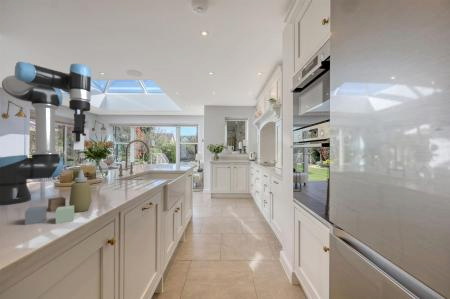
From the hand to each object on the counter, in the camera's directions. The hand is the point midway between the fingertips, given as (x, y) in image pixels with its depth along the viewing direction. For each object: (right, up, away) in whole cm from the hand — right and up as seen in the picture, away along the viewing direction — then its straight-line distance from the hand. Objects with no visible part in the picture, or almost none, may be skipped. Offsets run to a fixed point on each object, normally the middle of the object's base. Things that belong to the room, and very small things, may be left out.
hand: (79, 149), depth 90 cm
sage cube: (+4, -27, -12) cm, 30 cm away
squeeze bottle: (0, -27, +1) cm, 27 cm away
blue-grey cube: (-6, -27, -14) cm, 31 cm away
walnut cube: (-11, -27, +2) cm, 29 cm away
